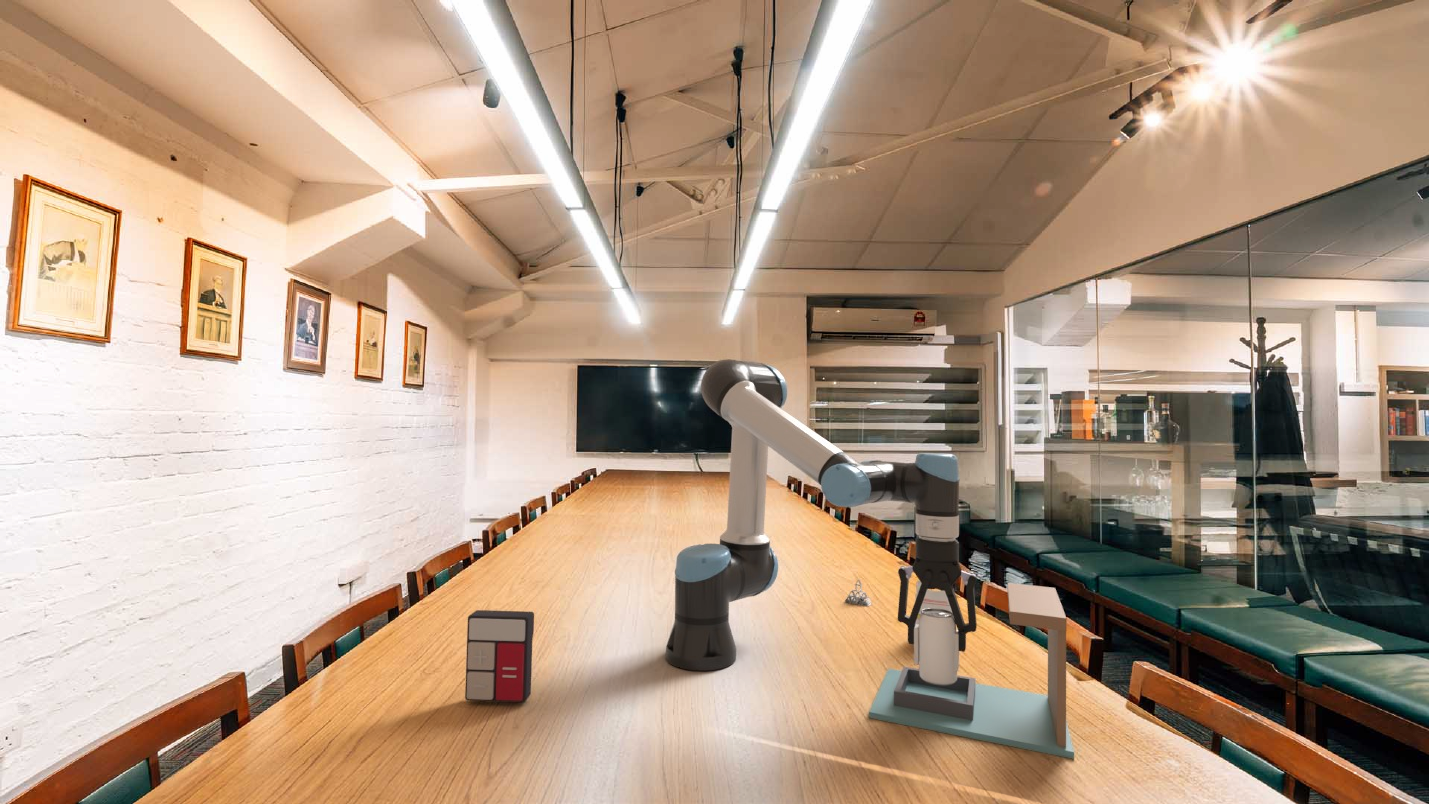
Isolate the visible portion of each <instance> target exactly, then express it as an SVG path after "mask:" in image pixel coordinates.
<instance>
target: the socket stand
mask: <svg viewBox="0 0 1429 804" xmlns="http://www.w3.org/2000/svg"><path fill="white" fill-rule="evenodd" d="M1007 599H1008V600H1007V603H1008V605H1007V606H1008V614H1009V617H1008V618H1009V624H1010V625H1014V626H1015V625H1016V626H1024V627H1031V628H1039V629H1047V694H1042V693H1036V692H1031V691H1024V690H1021V689H1020V690H1019V689H1013V688H1007V687H1002V686H1001V687H1000V686H997V685H989V684H988V685H987V684H984V683H977V682H976V678H975V677H969V676H963V675H958V674H957V681H956V682H955V683H954V684H952V685H946V686H942V685H934V684H930V683H927V682H925V681H924V680H922V678H921V677H920V673H919V668H914V667H909V666H903V667H902V670H901V669H894V668H888V669H887V671H886V674H885V675H884V678H883V680H882V682H881V683H880V687H879V689H878V690H877V691H878V692H877V693H876V696H875V698H874V700H873V702H872V705H871V706H870V710H869V711H868V718H869V719H872V720H873V719H874V720H879V721H883V722H889V723H893V724H899V725H903V726H907V727H913V728H919V729H923V730H929V731H932V732H938V733H943V734H949V735H951V736H952V735H953V736H958V737H964V738H968V739H973V740H978V741H983V742H989V743H994V744H998V745H1002V746H1003V745H1004V746H1009V747H1013V748H1018V749H1022V750H1029V751H1034V752H1038V753H1042V754H1048V755H1051V756H1052V755H1054V756H1058V757H1064V758H1068V759H1073V760H1075V750H1074V745H1073V743H1072V737H1071V735H1070V730H1069V726H1068V721H1067V630H1068V629H1067V627H1068V624H1067V621H1068V620H1067V617H1066V613H1065V611H1064V607H1063V605H1062V603H1061V599H1060V597H1059V594H1058V592H1057V590H1056V587H1049V586H1041V585H1032V584H1022V583H1014V582H1007Z"/></svg>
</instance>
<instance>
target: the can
mask: <svg viewBox="0 0 1429 804" xmlns="http://www.w3.org/2000/svg"><path fill="white" fill-rule="evenodd" d="M956 630H957V626H956V622H955V619H954V618H953V613H952V612H951V611H948V610H944V609H937V608H927V609H923V610H921V615H920V618H919V664H918V667H919V668H918V669H919V673H920V677H921V678H922V680H924V681H925V682H927V683H930V684H934V685H942V686H946V685H952V684H954V683H955V682H956V681H957V675H958V671H955V652H954V634H955V633H956Z"/></svg>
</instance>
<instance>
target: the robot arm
mask: <svg viewBox="0 0 1429 804" xmlns="http://www.w3.org/2000/svg"><path fill="white" fill-rule="evenodd" d="M700 382H701V384H700V392H701V396H702V398H703V400H704V402H705V404H706V405H707V406H708V407H709V408H710V409H711V410H712V411H713V412H715V413H716V414H717V415H718V416H719V417H720V418H722V419H724V420H725V421H727V422H728V423H729V425H731V428H732V429H731V441H730V442H731V446H730V465H729V482H728V483H729V486H728V503H727V504H728V505H727V521H726V522H727V523H726V530H725V531H723V533H722V534H721V535H720V536H719V543H704V544H703V543H702V544H700V543H699V544H693V545H690V546H688V547H685V548H684V549H682V550H681V551H680V552H679V553H678V554H677V555H676V564H675V570H674V576H675V577H674V580H675V582H674V584H675V585H674V586H675V587H674V600H675V601H674V620H673V621H674V622H673V625H672V628H671V631H670V634H669V636H668V640H667V643H666V647H665V660H666V662H667V663H669V664H670V665H672V666H674V667H677V668H679V667H680V669H684V670H690V671H715V670H720V669H724V668H727V667H729V666H731V665H733V664H734V663H735V662H736V660H737V646H736V641H735V639H734V635H733V632H732V629H731V626H730V622H729V621H730V620H729V615H730V612H729V611H730V607H729V606H730V603H733V602H735V601H738V600H742V599H745V598H749V597H756V596H758V595H760V594H762V593H764V592H766V591H767V590H769V589H770V588H771V587H772V585H774V584H775V581H776V579H777V578H778V574H779V573H778V572H779V560H778V556H777V555H776V554H775V550H774V549H773V548H772V547H771V539H770V537H769V536H768V535H767V534H766V533H765V515H766V514H765V513H766V497H767V496H766V495H767V494H766V493H767V479H768V478H767V476H768V461H769V460H768V459H769V458H768V457H769V448H770V449H772V450H773V451H774V452H776V453H777V454H778V455H780V456H781V457H782V458H784V459H785V460H786V461H788V462H789V463H791V464H792V466H795V467H796V468H797V469H798V470H799V471H801V472H802V473H804V474H805V475H807V476H808V477H809V478H811V480H813V481H814V482H816V483H817V484H819V485H820V489H821V492H822V494H823V496H824V498H825V500H826V501H828V502H829V503H830V504H832V505H834V506H836V507H841V508H842V507H845V508H853V507H859V506H862V505H868V504H875V503H880V502H881V503H882V502H898V503H899V502H901V503H902V502H904V503H912V504H914V503H915V534H916V535H917V536H916V538H915V548H914V549H915V551H914V552H915V557H914V558H915V559H914V563H913V564H912V565H910V566H905V565H902V566H900V567H899V569H897V570H898V571H897V573H898V577H899V580H900V583H899V585H900V586H899V598H898V610H897V621H898V622H899V623H903V624H905V625H906V626H907V643H908V644H909V645H913V665H915V666H919V625H917V624H916V620H917V617H918V614H919V611H920V608H921V606H922V603H923V600H924V597H925V594H926V592H927V589H928V590H937V591H945V593H946V596H947V598H948V601H949V604H950V607H951V610H952V613H953V616H954V620H955V622H956V633H955V634H954V652H955V671H957V672H959V670H960V652H963V653H964V652H966V648H967V634H968V633H974V632H976V631H977V624H978V623H977V614H976V613H977V612H976V611H977V610H976V599H975V598H976V597H975V585H976V581H977V578H978V577H977V574H976V573H974V572H971V573H970V572H967V571H964V570H962V568H961V566H960V562H959V560H960V559H959V558H960V555H959V553H960V552H959V551H960V550H959V548H960V542H959V541H958V540H957V539H956V538H958V537H959V535H960V515H959V514H960V512H959V505H960V504H959V503H960V502H959V501H960V499H959V497H960V479H961V478H960V474H959V473H960V472H959V471H960V470H959V460H958V459H959V458H958V457H957V456H956V455H955V454H952V453H938V452H937V453H932V452H920V453H918V454H916V456H915V461H914V462H897V461H883V460H878V459H877V460H864V461H860V462H859V461H857V460H856V459H855V458H853V457H851V456H850V455H849V454H847V453H845V452H844V451H843V450H841V449H840V448H838V447H837V446H836V445H834V444H833V443H831V442H830V441H828V440H827V439H826V438H824V437H822V436H821V435H820V434H818V433H817V432H815V431H814V430H812V429H811V428H809V427H808V426H807V425H805V424H804V423H802V422H801V421H799V420H798V419H796V418H795V417H794V416H792V415H791V414H790V413H788V412H786V411H785V410H784V409H783V408H782V407H783V406H784V405H785V403H786V401H787V398H788V386H787V382H786V380H785V377H784V376H783V374H782V373H781V372H780V371H779V370H778V369H777V368H775V367H774V366H771V365H768V364H765V363H762V362H752V361H743V360H736V359H727V358H726V359H721V360H718V361H716V362H714V363H713V364H711V365H710V366H709V367H708V368H707V369H706V370H705V372H704V373H703V375H702V378H701V381H700ZM913 573H914V575H915V576H916V577H917V579H918V581H920V582H921V583H922V584H921V586H920V589H919V592H918V595H917V598H916V601H915V602H914V604H913V606H912V609H911V612H910V615H908V614H907V610H908V609H907V608H908V607H907V606H908V598H909V597H908V595H909V583H910V579H911V578H912V574H913ZM959 578H961V579H962V583H963V585H965V586H966V589H965V591H966V605H967V606H966V607H967V617H968V620H967V622H966V623H965V620H964V617H963V613H962V611H961V607H960V604H959V601H958V598H957V595H956V592H955V588H954V584H955V583H956V582H957V581H958V579H959Z"/></svg>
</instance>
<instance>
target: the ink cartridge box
mask: <svg viewBox="0 0 1429 804" xmlns="http://www.w3.org/2000/svg"><path fill="white" fill-rule="evenodd" d="M921 584H922V583H921V582H920V580H918V581H916V585H915V586H916V587H915V588H916V590H915V598H914V599H915V601H916V598H917V595H918V592H919V589H920V586H921ZM927 608H937V609H944V610H948V611H951V612H952V610H951V607H950V604H949V601H948V598H947V596H946V593H945V591H941V590H934V589H927V592H926V594H925V597H924V600H923V603H922V606H921V608H920V611H919V614H918V617H917V620H916V624H917V625H919V618H920V615H921V610H923V609H927ZM953 618H954V616H953Z"/></svg>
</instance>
